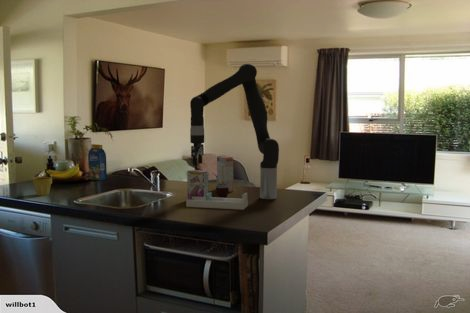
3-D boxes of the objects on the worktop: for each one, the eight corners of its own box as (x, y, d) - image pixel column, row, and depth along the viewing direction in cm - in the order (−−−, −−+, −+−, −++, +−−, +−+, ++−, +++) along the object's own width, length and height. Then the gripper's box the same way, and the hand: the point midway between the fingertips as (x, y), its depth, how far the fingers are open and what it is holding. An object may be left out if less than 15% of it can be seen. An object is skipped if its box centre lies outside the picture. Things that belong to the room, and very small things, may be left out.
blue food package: (96, 178, 324) (94, 143, 321) (107, 179, 317) (105, 144, 314) (88, 179, 319) (87, 144, 316) (99, 180, 312) (98, 145, 309)
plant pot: (56, 193, 264) (55, 177, 263) (42, 196, 255) (41, 179, 254) (43, 192, 269) (43, 176, 268) (29, 195, 259) (28, 178, 258)
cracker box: (233, 191, 269) (233, 157, 267) (224, 192, 267) (224, 157, 265) (225, 188, 282) (225, 155, 280) (216, 188, 280) (216, 155, 278)
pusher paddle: (209, 201, 234) (209, 192, 233) (226, 202, 232) (226, 193, 231) (205, 204, 227) (205, 194, 227) (222, 205, 225) (222, 195, 224)
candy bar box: (187, 200, 244) (186, 170, 242) (192, 198, 248) (192, 169, 247) (203, 202, 238) (203, 172, 237) (209, 201, 242) (208, 171, 241)
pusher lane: (192, 202, 238) (192, 189, 237) (247, 205, 230) (247, 192, 230) (186, 206, 228) (186, 193, 228) (243, 209, 221) (243, 195, 221)
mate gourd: (231, 198, 250) (231, 171, 248) (222, 200, 243) (222, 173, 242) (220, 196, 254) (220, 170, 252) (211, 199, 247) (211, 172, 246)
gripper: (199, 135, 232) (200, 166, 233) (208, 133, 245) (208, 162, 247) (186, 134, 233) (186, 165, 235) (195, 133, 247) (195, 162, 249)
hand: (197, 164), depth 241 cm, fingers open, 8 cm apart
